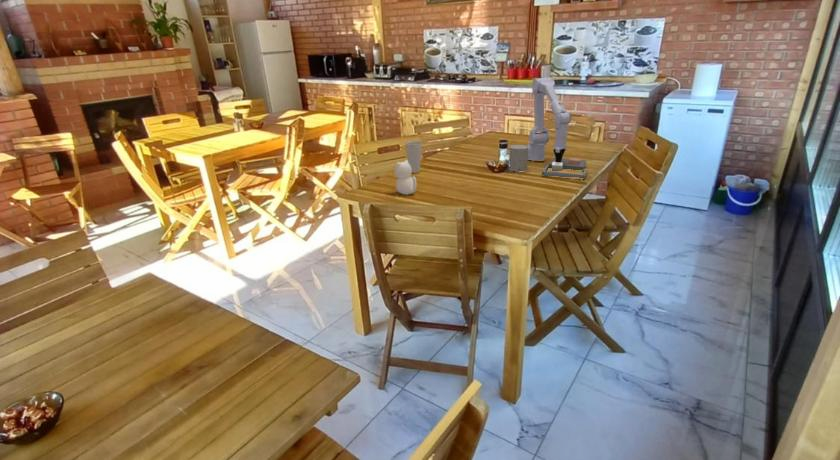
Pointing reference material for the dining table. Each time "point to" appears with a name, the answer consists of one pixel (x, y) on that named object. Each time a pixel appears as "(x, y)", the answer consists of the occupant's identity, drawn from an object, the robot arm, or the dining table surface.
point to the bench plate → (569, 166)
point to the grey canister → (518, 157)
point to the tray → (562, 173)
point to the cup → (414, 155)
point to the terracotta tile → (574, 161)
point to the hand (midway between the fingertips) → (558, 163)
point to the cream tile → (557, 166)
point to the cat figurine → (405, 178)
